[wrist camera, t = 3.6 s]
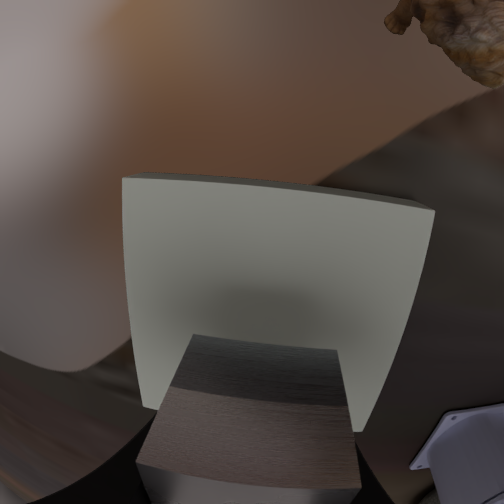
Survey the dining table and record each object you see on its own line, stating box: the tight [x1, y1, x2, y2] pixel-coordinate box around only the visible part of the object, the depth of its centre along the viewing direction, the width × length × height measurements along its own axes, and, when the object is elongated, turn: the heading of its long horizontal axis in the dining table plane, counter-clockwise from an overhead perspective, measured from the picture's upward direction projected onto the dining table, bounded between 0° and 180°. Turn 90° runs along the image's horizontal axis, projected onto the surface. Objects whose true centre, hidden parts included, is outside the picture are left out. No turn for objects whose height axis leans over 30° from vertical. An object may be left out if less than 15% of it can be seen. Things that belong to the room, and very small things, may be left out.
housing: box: [136, 334, 362, 504], centre depth 8 cm, size 4×6×5 cm
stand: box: [122, 172, 435, 432], centre depth 16 cm, size 14×14×2 cm
